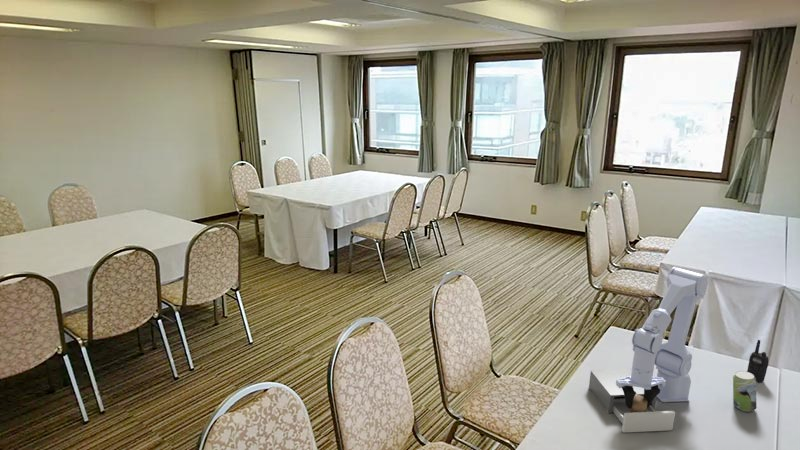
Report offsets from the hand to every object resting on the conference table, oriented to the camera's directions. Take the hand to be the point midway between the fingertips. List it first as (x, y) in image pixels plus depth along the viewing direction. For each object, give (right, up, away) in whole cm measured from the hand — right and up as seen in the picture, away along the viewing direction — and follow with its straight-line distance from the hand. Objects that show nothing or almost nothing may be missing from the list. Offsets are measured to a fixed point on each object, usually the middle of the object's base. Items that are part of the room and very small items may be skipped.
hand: (637, 406), depth 148 cm
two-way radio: (+52, +1, +21) cm, 56 cm away
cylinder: (0, -1, 0) cm, 1 cm away
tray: (0, -4, +1) cm, 4 cm away
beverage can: (+36, -3, +6) cm, 37 cm away
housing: (-1, -1, +10) cm, 10 cm away
